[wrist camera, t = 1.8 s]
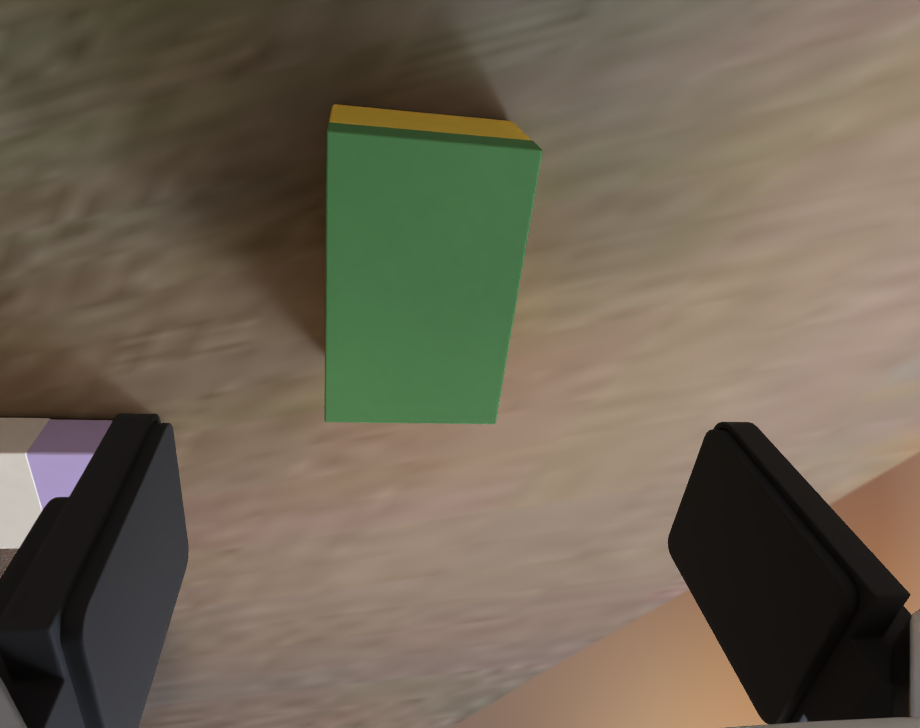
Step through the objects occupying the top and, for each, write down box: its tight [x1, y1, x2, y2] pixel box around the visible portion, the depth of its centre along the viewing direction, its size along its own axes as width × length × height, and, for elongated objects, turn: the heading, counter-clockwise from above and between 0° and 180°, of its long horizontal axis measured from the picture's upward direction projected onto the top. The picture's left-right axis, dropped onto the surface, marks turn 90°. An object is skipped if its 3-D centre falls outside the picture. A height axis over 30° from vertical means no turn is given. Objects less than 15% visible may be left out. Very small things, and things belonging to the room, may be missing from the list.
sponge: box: [325, 104, 542, 424], centre depth 18 cm, size 8×5×4 cm, turn 173°
